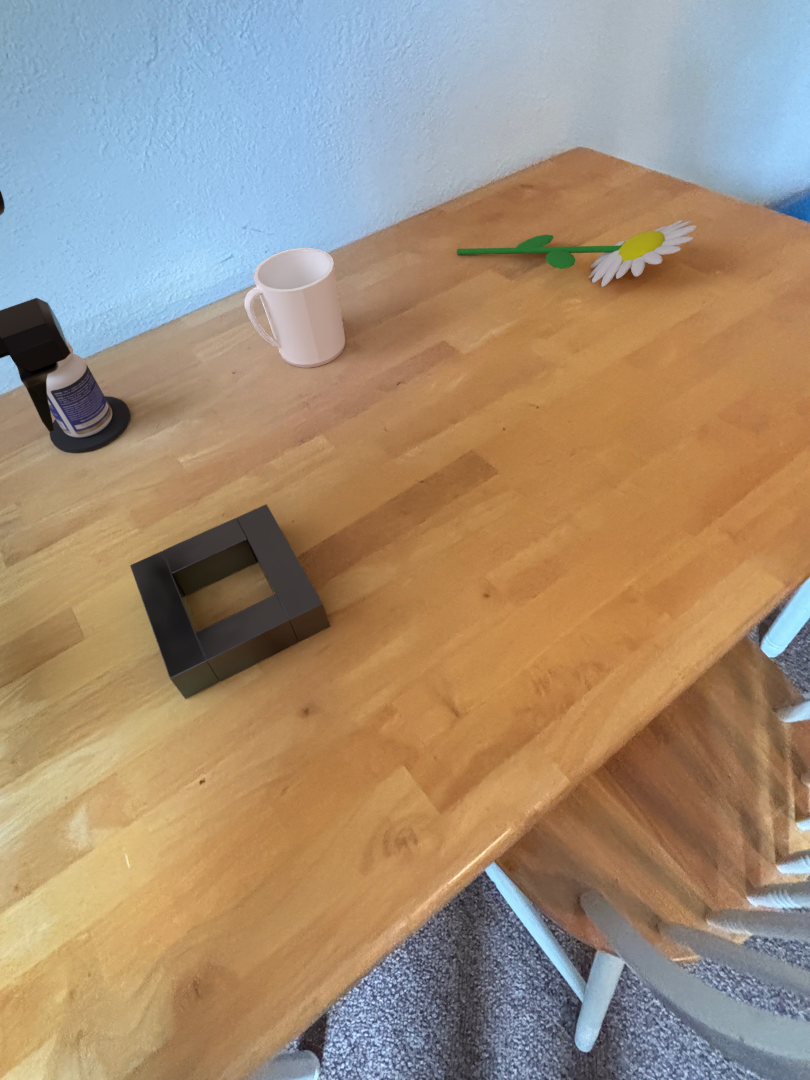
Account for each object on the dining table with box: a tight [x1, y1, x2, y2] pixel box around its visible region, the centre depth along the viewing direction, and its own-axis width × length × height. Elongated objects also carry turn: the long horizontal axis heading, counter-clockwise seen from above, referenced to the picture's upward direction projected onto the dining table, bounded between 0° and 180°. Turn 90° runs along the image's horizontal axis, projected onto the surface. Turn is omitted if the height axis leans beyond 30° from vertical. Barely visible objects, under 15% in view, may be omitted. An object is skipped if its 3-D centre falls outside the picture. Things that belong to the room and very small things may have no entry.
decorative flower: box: [456, 219, 698, 288], centre depth 89 cm, size 13×5×30 cm
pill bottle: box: [46, 337, 112, 437], centre depth 76 cm, size 6×6×10 cm
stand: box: [129, 504, 332, 700], centre depth 61 cm, size 13×13×4 cm
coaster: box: [49, 395, 132, 454], centre depth 80 cm, size 9×9×1 cm
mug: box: [244, 247, 347, 369], centre depth 81 cm, size 11×9×10 cm
